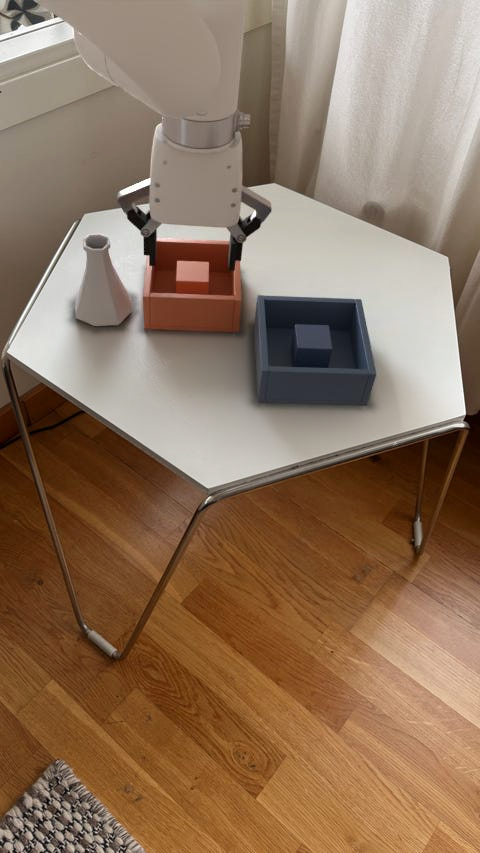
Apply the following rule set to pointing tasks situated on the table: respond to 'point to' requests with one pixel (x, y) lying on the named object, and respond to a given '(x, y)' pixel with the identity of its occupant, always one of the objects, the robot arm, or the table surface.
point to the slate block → (311, 346)
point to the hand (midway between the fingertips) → (192, 261)
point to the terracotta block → (192, 278)
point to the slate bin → (332, 385)
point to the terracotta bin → (189, 309)
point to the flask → (101, 287)
